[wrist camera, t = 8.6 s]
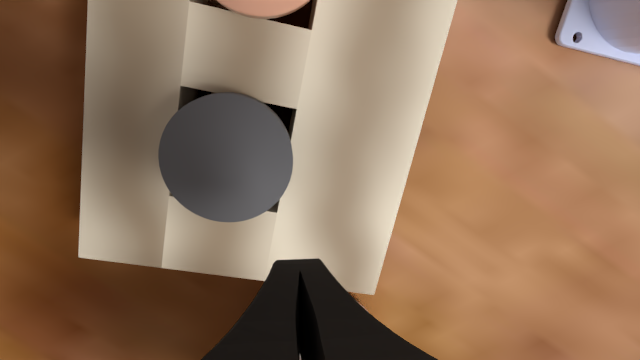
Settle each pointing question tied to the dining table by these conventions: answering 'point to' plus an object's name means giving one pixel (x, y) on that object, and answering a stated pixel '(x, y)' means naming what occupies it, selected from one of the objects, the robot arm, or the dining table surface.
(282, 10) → the terracotta plug
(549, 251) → the dining table surface
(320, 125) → the panel
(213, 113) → the charcoal plug
